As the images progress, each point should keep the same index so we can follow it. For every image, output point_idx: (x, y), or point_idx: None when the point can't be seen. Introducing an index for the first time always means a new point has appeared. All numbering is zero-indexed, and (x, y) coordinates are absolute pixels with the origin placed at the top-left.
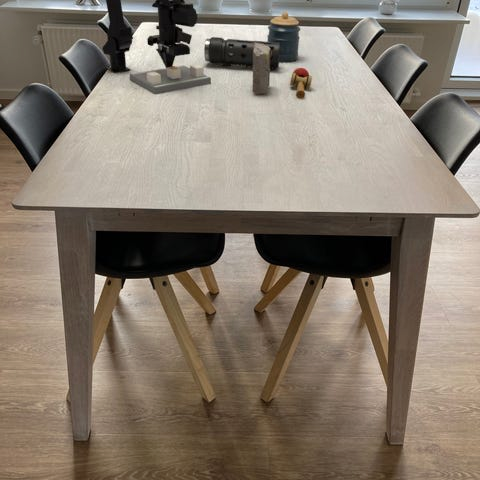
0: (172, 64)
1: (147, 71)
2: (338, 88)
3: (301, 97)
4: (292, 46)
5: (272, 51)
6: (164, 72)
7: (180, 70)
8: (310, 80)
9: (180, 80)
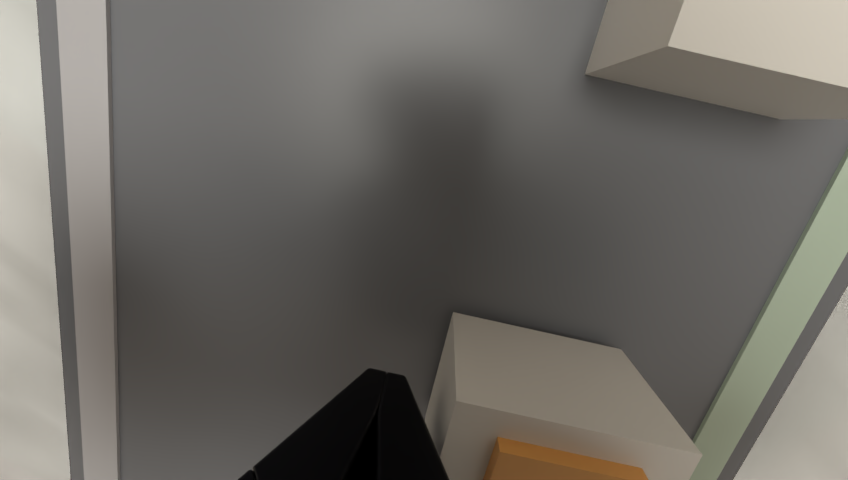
0: (436, 462)
1: (87, 423)
2: None
3: None
4: None
5: None
6: (235, 300)
7: (683, 432)
8: None
9: (664, 396)
